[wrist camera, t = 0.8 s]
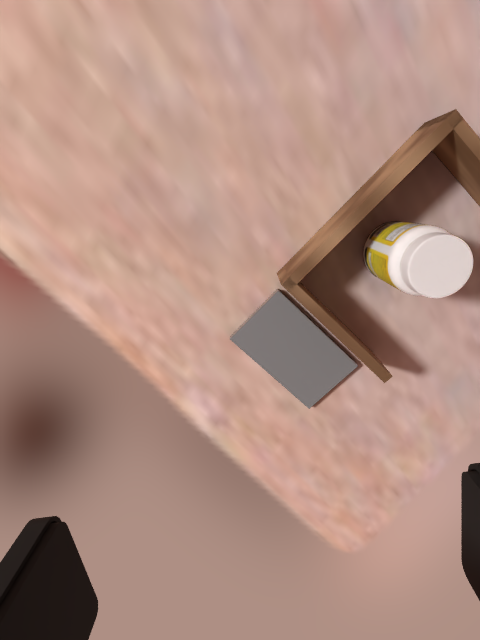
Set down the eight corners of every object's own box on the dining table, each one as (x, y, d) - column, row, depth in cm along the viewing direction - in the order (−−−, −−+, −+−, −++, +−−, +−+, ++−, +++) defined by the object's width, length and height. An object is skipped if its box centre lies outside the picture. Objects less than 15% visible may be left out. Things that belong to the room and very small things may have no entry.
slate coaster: (277, 288, 32) (278, 290, 32) (356, 363, 34) (358, 365, 34) (230, 336, 34) (229, 339, 33) (308, 405, 36) (309, 408, 35)
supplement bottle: (404, 286, 32) (455, 315, 24) (352, 268, 32) (388, 291, 24) (430, 231, 31) (495, 243, 23) (377, 212, 30) (424, 216, 22)
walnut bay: (424, 122, 28) (455, 109, 24) (515, 230, 31) (558, 236, 26) (276, 273, 32) (281, 284, 28) (367, 360, 34) (384, 383, 30)
